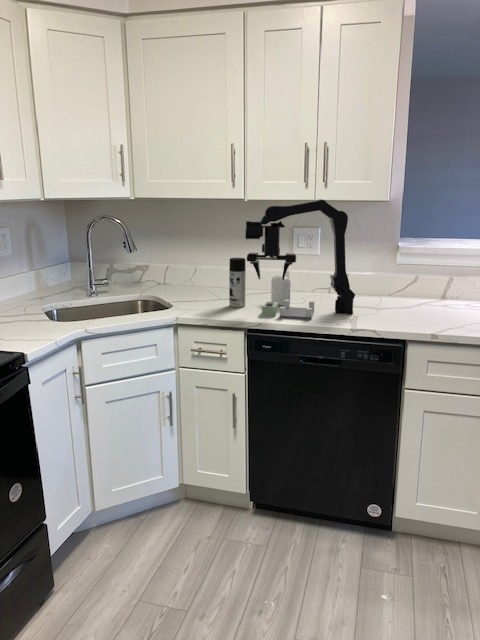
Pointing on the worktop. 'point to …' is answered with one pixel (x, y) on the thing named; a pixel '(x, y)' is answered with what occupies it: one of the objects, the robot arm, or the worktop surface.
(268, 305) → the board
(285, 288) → the photo printer
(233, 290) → the spray can
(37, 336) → the worktop surface
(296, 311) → the chassis
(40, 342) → the worktop surface
